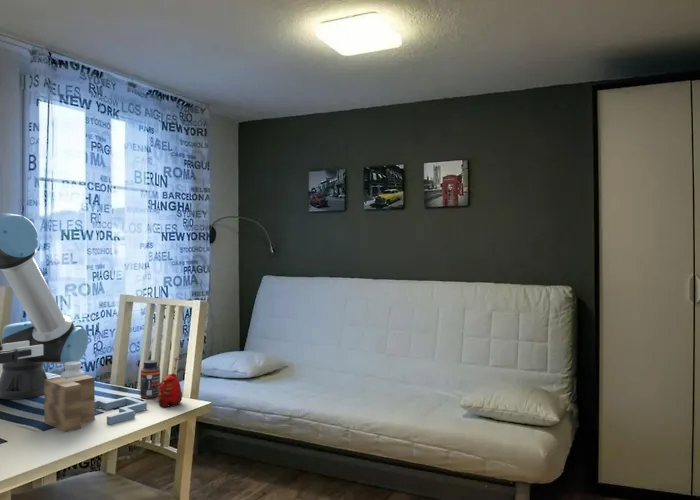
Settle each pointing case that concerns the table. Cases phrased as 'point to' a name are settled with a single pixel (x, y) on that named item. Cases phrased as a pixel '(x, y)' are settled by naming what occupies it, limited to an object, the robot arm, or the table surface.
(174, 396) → the red clay folk toy
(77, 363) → the supplement bottle
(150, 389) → the supplement bottle
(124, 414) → the tee dock
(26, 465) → the table surface
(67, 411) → the tee block
